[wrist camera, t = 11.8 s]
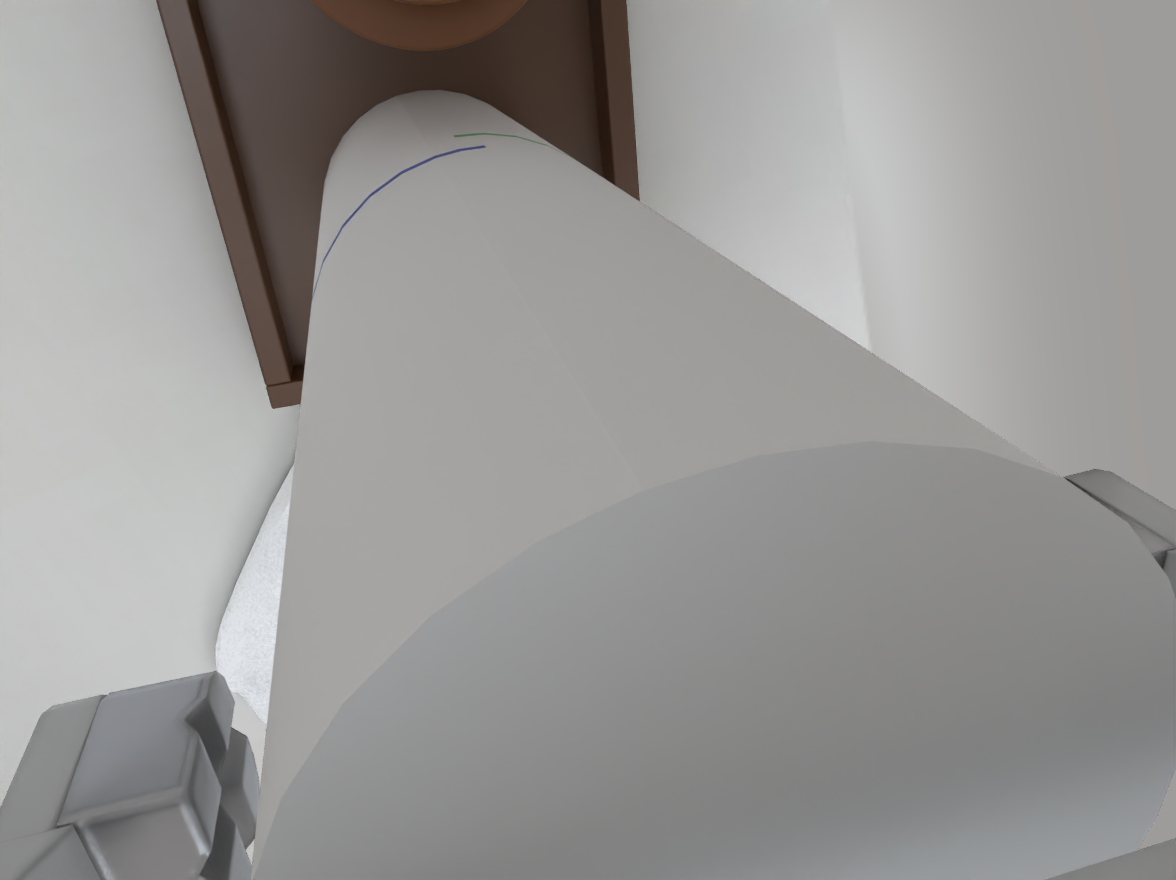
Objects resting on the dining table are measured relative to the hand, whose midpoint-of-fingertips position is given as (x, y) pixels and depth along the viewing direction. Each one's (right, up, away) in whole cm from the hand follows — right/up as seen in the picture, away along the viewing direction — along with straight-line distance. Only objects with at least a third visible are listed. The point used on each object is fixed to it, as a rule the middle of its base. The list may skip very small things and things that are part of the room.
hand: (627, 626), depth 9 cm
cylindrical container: (-5, +9, +19) cm, 22 cm away
